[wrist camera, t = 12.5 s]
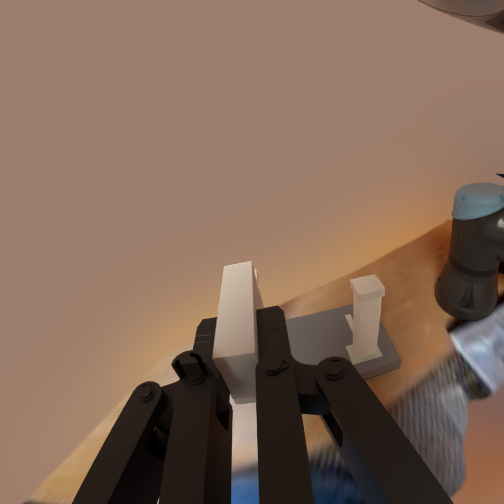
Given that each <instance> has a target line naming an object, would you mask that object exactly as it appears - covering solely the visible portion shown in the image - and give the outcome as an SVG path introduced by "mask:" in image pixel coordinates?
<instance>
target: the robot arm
mask: <svg viewBox="0 0 504 504" xmlns="http://www.w3.org/2000/svg"><path fill="white" fill-rule="evenodd" d="M418 1H420V2H422V3H424V4H426V5H428V6H430V7H432V8H434V9H436V10H438V11H441V12H443V13H446V14H448V15H450V16H453V17H456V18H458V19H461V20H464V21H466V22H469V23H472V24H474V25H477V26H480V27H483V28H486V29H489V30H492V31H495V32H499V33H502V34H504V0H418ZM452 216H453V223H452V234H451V243H450V251H449V258H448V261H447V263H446V265H445V267H444V269H443V271H442V274H441V275H440V277H439V279H438V281H437V285H436V291H435V296H436V300H437V302H438V304H439V305H440V306H441V308H442V309H443V310H445V311H446V312H447V313H449V314H450V315H452V316H454V317H456V318H459V319H463V320H469V321H475V320H481V319H484V318H486V317H488V316H489V315H490V314H491V313H492V312H493V310H494V308H495V305H496V302H497V299H498V289H497V288H498V268H499V264H500V262H504V186H500V185H497V184H493V183H473V184H468V185H465V186H462V187H461V188H459V189H458V190H457V192H456V193H455V197H454V207H453V211H452ZM194 343H195V344H194V346H193V350H190V351H186V352H183V353H181V354H179V355H178V356H177V357H176V358H175V359H174V360H173V362H172V364H171V365H172V367H173V369H174V370H175V372H176V373H177V375H178V376H179V378H180V380H179V381H177V382H175V383H172V384H169V385H166V386H163V387H160V385H159V384H158V383H156V382H152V381H148V382H144V383H142V384H140V385H139V386H137V387H136V389H135V390H134V391H133V393H132V395H131V396H130V398H129V400H128V401H127V403H126V405H125V407H124V408H123V410H122V412H121V414H120V415H119V417H118V419H117V421H116V422H115V424H114V426H113V428H112V429H111V431H110V433H109V435H108V437H107V438H106V440H105V442H104V444H103V446H102V447H101V449H100V451H99V453H98V455H97V457H96V458H95V460H94V462H93V464H92V466H91V468H90V470H89V471H88V473H87V475H86V477H85V479H84V481H83V483H82V485H81V487H80V489H79V491H78V492H77V494H76V496H75V498H74V500H73V502H72V504H157V501H158V499H159V504H231V466H232V420H233V410H232V406H231V404H230V402H229V400H230V394H231V396H232V398H233V399H241V398H249V397H256V413H257V444H258V474H259V504H314V497H313V490H312V482H311V475H310V467H309V460H308V453H307V446H306V440H305V433H304V426H303V420H302V414H312V415H319V416H320V418H321V420H322V421H323V423H324V425H325V427H326V429H327V431H328V432H329V434H330V436H331V438H332V440H333V442H334V443H335V445H336V447H337V449H338V451H339V452H340V454H341V456H342V458H343V460H344V461H345V463H346V465H347V467H348V469H349V470H350V472H351V474H352V476H353V478H354V479H355V481H356V483H357V485H358V486H359V488H360V490H361V492H362V494H363V495H364V497H365V499H366V501H367V502H368V504H453V502H452V501H451V499H450V498H449V496H448V495H447V494H446V492H445V491H444V489H443V488H442V486H441V485H440V484H439V482H438V481H437V479H436V478H435V477H434V475H433V474H432V472H431V471H430V470H429V468H428V467H427V465H426V464H425V463H424V461H423V460H422V458H421V457H420V456H419V454H418V453H417V451H416V450H415V449H414V447H413V446H412V444H411V443H410V442H409V440H408V439H407V438H406V436H405V435H404V433H403V432H402V431H401V429H400V428H399V427H398V425H397V424H396V422H395V421H394V420H393V418H392V417H391V416H390V414H389V413H388V412H387V410H386V409H385V407H384V406H383V405H382V403H381V402H380V401H379V399H378V398H377V397H376V395H375V394H374V393H373V391H372V390H371V389H370V387H369V386H368V385H367V383H366V382H365V380H364V379H363V378H362V376H361V375H360V374H359V372H358V371H357V370H356V368H355V367H354V366H353V364H352V363H351V362H350V361H349V360H347V359H346V358H343V357H338V356H332V357H329V358H325V359H324V360H322V361H321V362H319V364H318V365H308V364H303V363H300V362H298V361H297V360H295V359H294V357H293V356H292V354H291V348H290V342H289V337H288V331H287V326H286V321H285V316H284V312H283V311H282V309H281V308H280V307H279V306H273V307H268V308H262V300H261V296H260V292H259V288H258V284H257V280H256V276H255V272H254V269H253V265H252V261H248V262H244V263H238V264H233V265H228V266H224V272H223V279H222V287H221V294H220V301H219V310H218V317H215V318H209V319H203V320H202V321H201V323H200V324H199V326H198V327H197V331H196V337H195V341H194ZM159 497H160V498H159Z"/></svg>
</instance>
